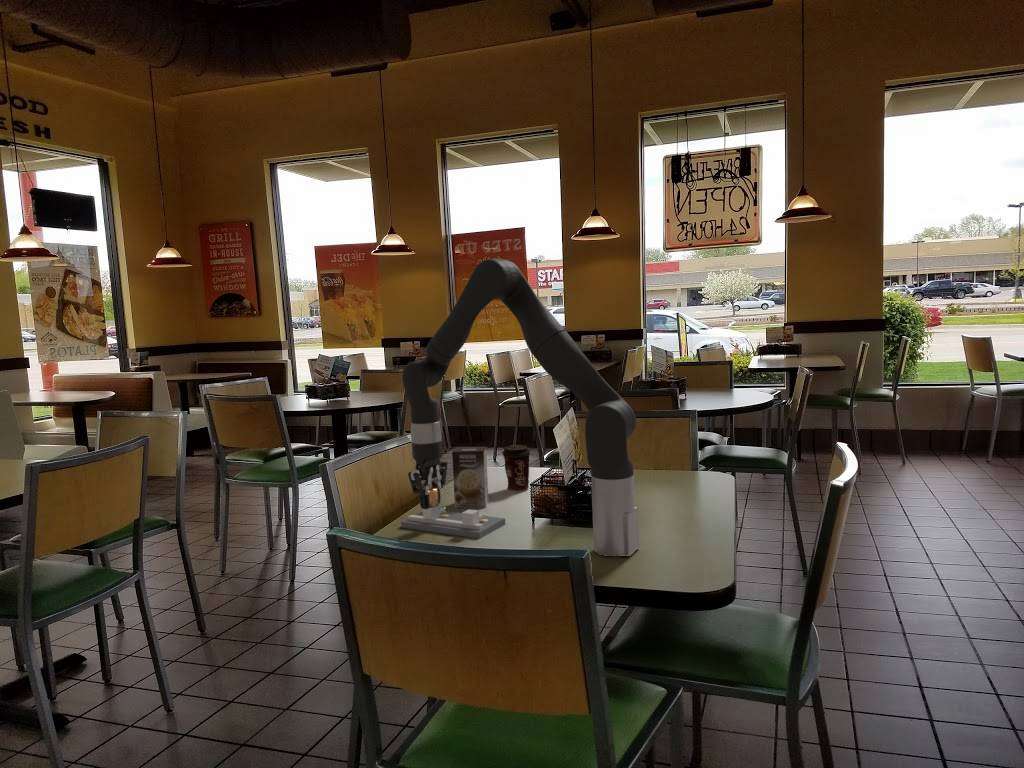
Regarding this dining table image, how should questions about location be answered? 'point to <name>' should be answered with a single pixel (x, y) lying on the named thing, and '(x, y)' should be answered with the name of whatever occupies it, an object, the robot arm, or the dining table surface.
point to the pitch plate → (456, 523)
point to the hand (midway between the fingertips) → (430, 505)
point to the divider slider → (433, 505)
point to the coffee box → (470, 477)
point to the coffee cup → (517, 467)
